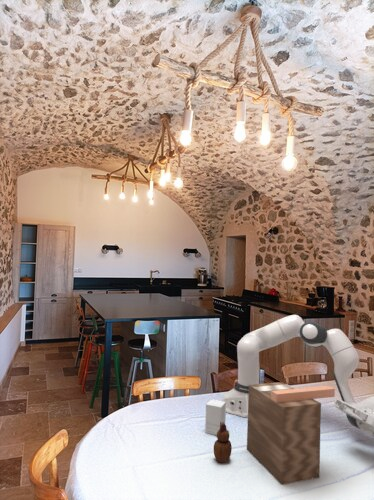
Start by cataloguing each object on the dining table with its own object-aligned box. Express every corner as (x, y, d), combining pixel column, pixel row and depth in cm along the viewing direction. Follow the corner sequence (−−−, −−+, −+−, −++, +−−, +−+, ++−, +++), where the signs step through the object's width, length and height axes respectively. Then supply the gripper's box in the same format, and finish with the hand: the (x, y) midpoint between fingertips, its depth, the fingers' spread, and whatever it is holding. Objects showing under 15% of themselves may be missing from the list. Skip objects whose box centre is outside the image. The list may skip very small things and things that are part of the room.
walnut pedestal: (280, 444, 148) (281, 381, 149) (319, 477, 125) (321, 402, 127) (246, 449, 143) (248, 384, 144) (281, 484, 120) (283, 406, 122)
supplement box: (225, 430, 160) (226, 401, 160) (220, 436, 153) (221, 407, 153) (210, 426, 163) (211, 398, 163) (204, 432, 156) (205, 403, 157)
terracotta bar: (327, 393, 137) (328, 385, 138) (334, 396, 134) (334, 388, 134) (271, 399, 129) (271, 390, 129) (276, 402, 126) (276, 394, 126)
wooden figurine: (218, 466, 130) (220, 424, 131) (210, 458, 135) (212, 418, 136) (233, 462, 133) (235, 421, 134) (225, 454, 138) (226, 415, 139)
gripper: (351, 403, 152) (329, 389, 148) (393, 424, 133) (369, 408, 129) (345, 417, 151) (323, 403, 147) (386, 440, 132) (362, 424, 128)
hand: (345, 406), depth 138 cm, fingers open, 8 cm apart
